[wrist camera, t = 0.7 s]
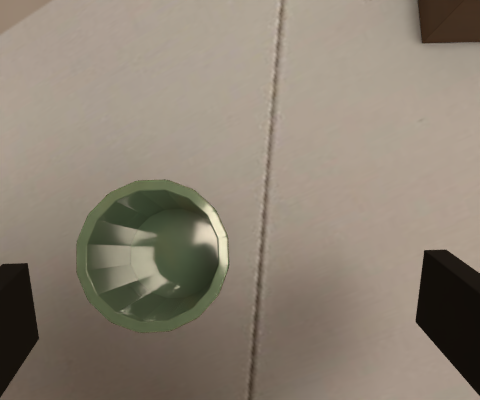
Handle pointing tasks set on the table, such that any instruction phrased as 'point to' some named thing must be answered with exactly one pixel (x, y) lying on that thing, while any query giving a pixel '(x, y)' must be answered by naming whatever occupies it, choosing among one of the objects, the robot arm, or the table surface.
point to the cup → (152, 256)
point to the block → (450, 20)
